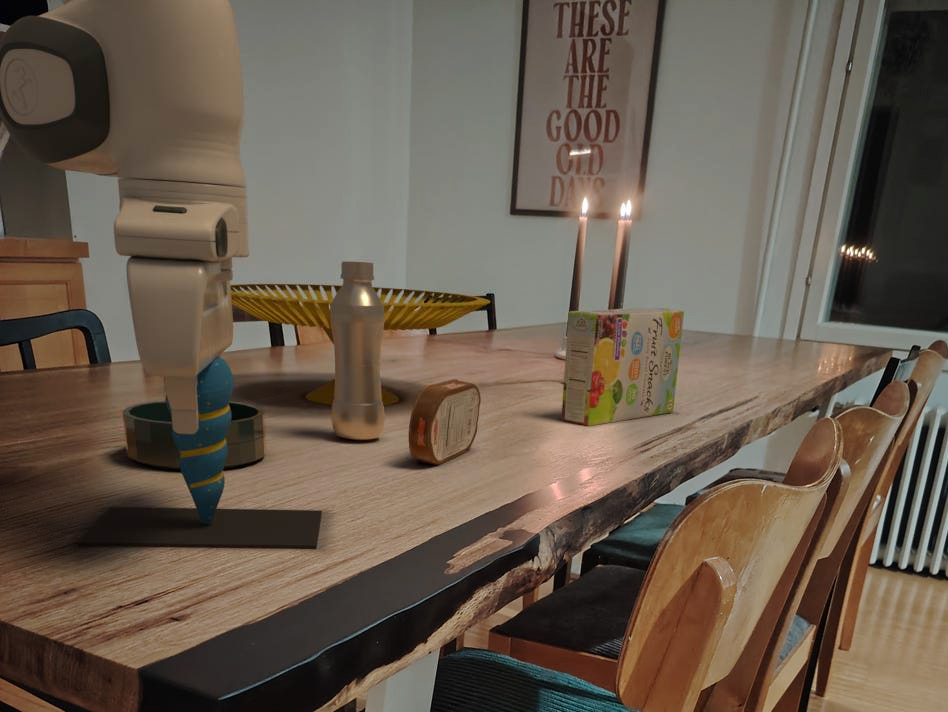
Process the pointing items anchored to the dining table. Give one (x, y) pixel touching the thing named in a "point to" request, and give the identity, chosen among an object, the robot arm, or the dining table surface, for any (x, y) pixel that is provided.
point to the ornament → (207, 439)
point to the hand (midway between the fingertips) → (197, 420)
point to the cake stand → (319, 316)
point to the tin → (444, 421)
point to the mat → (205, 528)
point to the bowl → (157, 447)
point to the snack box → (620, 364)
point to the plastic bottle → (357, 354)
